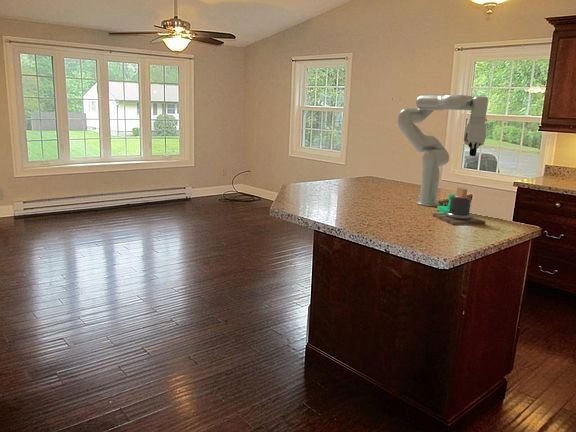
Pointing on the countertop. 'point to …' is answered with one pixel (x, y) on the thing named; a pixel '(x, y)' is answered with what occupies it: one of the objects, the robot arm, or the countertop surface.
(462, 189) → the tan knob
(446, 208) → the camera mount
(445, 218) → the mount board
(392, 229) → the countertop surface
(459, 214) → the black hollow cylinder
